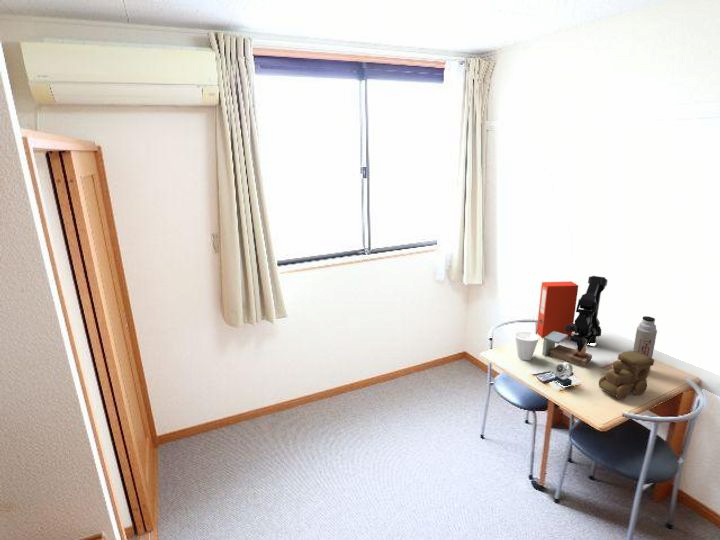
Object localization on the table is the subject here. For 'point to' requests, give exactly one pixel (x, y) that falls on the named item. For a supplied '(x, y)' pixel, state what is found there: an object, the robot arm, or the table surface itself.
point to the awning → (552, 341)
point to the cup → (526, 344)
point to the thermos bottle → (645, 337)
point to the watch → (561, 370)
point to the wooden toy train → (627, 374)
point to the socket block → (570, 356)
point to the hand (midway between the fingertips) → (581, 350)
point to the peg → (582, 349)
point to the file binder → (556, 307)
